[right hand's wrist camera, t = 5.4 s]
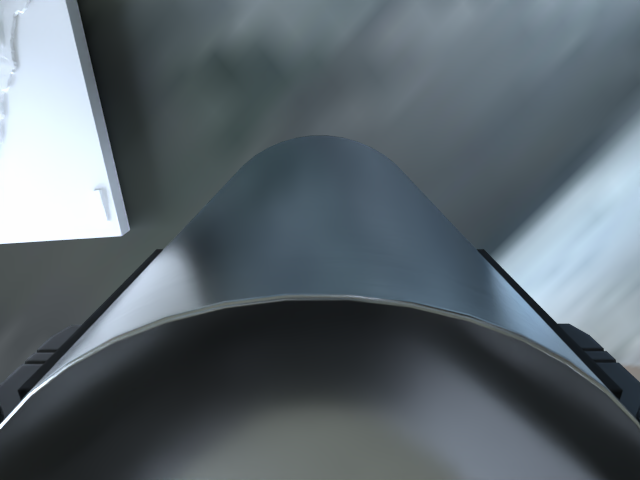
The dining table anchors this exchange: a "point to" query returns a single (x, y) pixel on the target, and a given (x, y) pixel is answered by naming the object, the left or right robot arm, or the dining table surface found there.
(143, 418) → the tin
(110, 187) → the relief map
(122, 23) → the dining table surface
